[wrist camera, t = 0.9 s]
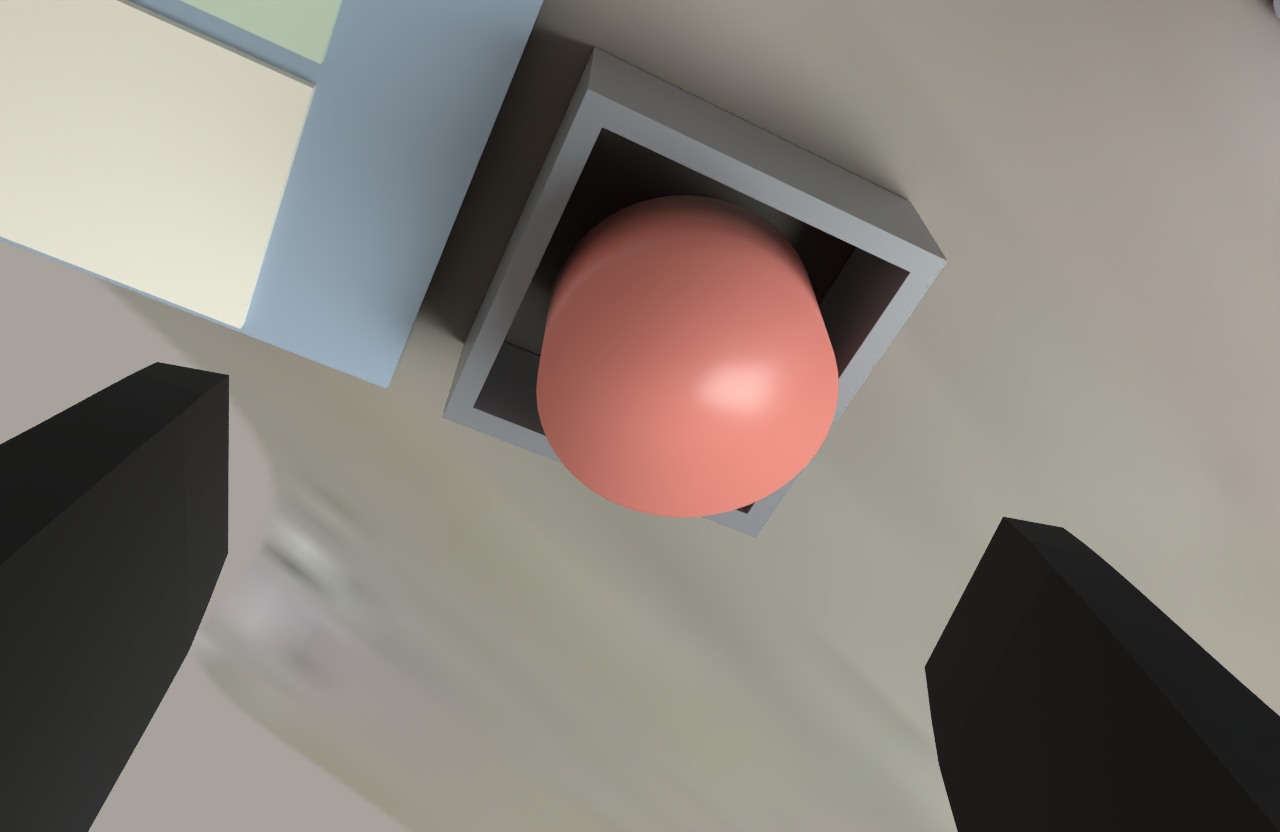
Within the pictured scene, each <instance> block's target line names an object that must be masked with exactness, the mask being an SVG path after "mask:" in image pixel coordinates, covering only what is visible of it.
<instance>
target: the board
mask: <svg viewBox="0 0 1280 832" xmlns="http://www.w3.org/2000/svg"><path fill="white" fill-rule="evenodd" d="M543 1H544V0H0V240H2V241H4V242H7V243H9V244H12V245H15V246H17V247H20V248H22V249H25V250H28V251H30V252H33V253H35V254H38V255H41V256H43V257H46V258H49V259H51V260H54V261H56V262H59V263H61V264H64V265H67V266H69V267H72V268H74V269H77V270H79V271H82V272H85V273H87V274H90V275H92V276H95V277H98V278H100V279H103V280H105V281H108V282H111V283H113V284H116V285H118V286H121V287H124V288H126V289H129V290H131V291H134V292H137V293H139V294H142V295H144V296H147V297H150V298H152V299H155V300H157V301H160V302H163V303H165V304H168V305H170V306H173V307H176V308H178V309H181V310H183V311H186V312H189V313H191V314H194V315H196V316H199V317H202V318H204V319H207V320H209V321H212V322H215V323H217V324H220V325H222V326H225V327H228V328H230V329H233V330H235V331H238V332H240V333H243V334H246V335H248V336H251V337H253V338H256V339H259V340H261V341H264V342H266V343H269V344H272V345H274V346H277V347H279V348H282V349H285V350H287V351H290V352H292V353H295V354H298V355H300V356H303V357H305V358H308V359H311V360H313V361H316V362H318V363H321V364H324V365H326V366H329V367H331V368H334V369H337V370H339V371H342V372H344V373H347V374H350V375H352V376H355V377H357V378H360V379H363V380H365V381H368V382H370V383H373V384H376V385H378V386H381V387H383V388H386V389H387V388H388V386H389V383H390V381H391V378H392V376H393V373H394V371H395V368H396V366H397V363H398V361H399V358H400V356H401V353H402V351H403V348H404V346H405V344H406V341H407V339H408V336H409V334H410V331H411V329H412V326H413V324H414V321H415V319H416V316H417V314H418V311H419V309H420V306H421V304H422V301H423V299H424V296H425V294H426V291H427V289H428V286H429V284H430V281H431V279H432V276H433V274H434V272H435V269H436V267H437V264H438V262H439V259H440V257H441V254H442V252H443V249H444V247H445V244H446V242H447V239H448V237H449V234H450V232H451V229H452V227H453V224H454V222H455V219H456V217H457V214H458V212H459V209H460V207H461V205H462V202H463V200H464V197H465V195H466V192H467V190H468V187H469V185H470V182H471V180H472V177H473V175H474V172H475V170H476V167H477V165H478V162H479V160H480V157H481V155H482V152H483V150H484V147H485V145H486V142H487V140H488V138H489V135H490V133H491V130H492V128H493V125H494V123H495V120H496V118H497V115H498V113H499V110H500V108H501V105H502V103H503V100H504V98H505V95H506V93H507V90H508V88H509V85H510V83H511V80H512V78H513V75H514V73H515V70H516V68H517V66H518V63H519V61H520V58H521V56H522V53H523V51H524V48H525V46H526V43H527V41H528V38H529V36H530V33H531V31H532V28H533V26H534V23H535V21H536V18H537V16H538V13H539V11H540V8H541V6H542V3H543Z"/></svg>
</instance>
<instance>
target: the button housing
mask: <svg viewBox="0 0 1280 832" xmlns="http://www.w3.org/2000/svg"><path fill="white" fill-rule="evenodd" d="M602 127H603V128H605V129H608V130H610V131H612V132H614V133H616V134H618V135H620V136H622V137H624V138H627V139H629V140H631V141H633V142H635V143H637V144H639V145H641V146H644V147H646V148H648V149H650V150H652V151H654V152H656V153H658V154H661V155H663V156H665V157H667V158H669V159H671V160H673V161H675V162H678V163H680V164H682V165H684V166H686V167H688V168H690V169H692V170H695V171H697V172H699V173H701V174H703V175H705V176H707V177H709V178H711V179H714V180H716V181H718V182H720V183H722V184H724V185H726V186H728V187H731V188H733V189H735V190H737V191H739V192H741V193H743V194H745V195H748V196H750V197H752V198H754V199H756V200H758V201H760V202H762V203H765V204H767V205H769V206H771V207H773V208H775V209H777V210H779V211H781V212H784V213H786V214H788V215H790V216H792V217H794V218H796V219H798V220H801V221H803V222H805V223H807V224H809V225H811V226H813V227H815V228H818V229H820V230H822V231H824V232H826V233H828V234H830V235H832V236H835V237H837V238H839V239H841V240H843V241H845V242H847V243H849V244H852V245H854V246H856V248H855V250H854V251H853V253H852V255H851V256H850V258H849V259H848V261H847V262H846V264H845V266H844V267H843V269H842V270H841V272H840V273H839V275H838V277H837V278H836V280H835V281H834V283H833V284H832V286H831V288H830V289H829V291H828V292H827V294H826V295H825V297H824V299H823V300H822V302H821V303H820V305H819V309H820V312H821V315H822V318H823V321H824V324H825V327H826V330H827V333H828V336H829V339H830V342H831V345H832V348H833V351H834V354H835V359H836V364H837V369H838V383H839V390H838V400H837V407H836V410H835V414H834V418H833V422H832V424H831V426H830V429H829V431H830V430H831V428H832V427H833V425H834V424H835V423H836V421H837V420H838V418H839V417H840V415H841V414H842V412H843V411H844V410H845V408H846V407H847V405H848V404H849V402H850V401H851V399H852V398H853V397H854V395H855V394H856V392H857V391H858V389H859V388H860V386H861V385H862V384H863V382H864V381H865V379H866V378H867V376H868V375H869V373H870V372H871V371H872V369H873V368H874V366H875V365H876V363H877V362H878V360H879V359H880V358H881V356H882V355H883V353H884V352H885V350H886V349H887V347H888V346H889V345H890V343H891V342H892V340H893V339H894V337H895V336H896V334H897V333H898V332H899V330H900V329H901V327H902V326H903V324H904V323H905V321H906V320H907V319H908V317H909V316H910V314H911V313H912V311H913V310H914V308H915V307H916V305H917V304H918V303H919V301H920V300H921V298H922V297H923V295H924V294H925V292H926V291H927V290H928V288H929V287H930V285H931V284H932V282H933V281H934V279H935V278H936V277H937V275H938V274H939V272H940V271H941V269H942V268H943V266H944V265H945V264H946V262H947V260H946V258H945V256H944V255H943V253H942V252H941V250H940V248H939V247H938V245H937V244H936V242H935V240H934V239H933V237H932V236H931V234H930V232H929V231H928V229H927V228H926V226H925V224H924V223H923V221H922V219H921V218H920V216H919V215H918V213H917V211H916V210H915V208H914V207H913V205H912V203H911V202H910V201H908V200H906V199H904V198H902V197H900V196H898V195H896V194H894V193H891V192H889V191H887V190H885V189H883V188H881V187H879V186H877V185H875V184H873V183H871V182H869V181H867V180H865V179H863V178H861V177H859V176H857V175H855V174H853V173H851V172H849V171H847V170H845V169H843V168H841V167H838V166H836V165H834V164H832V163H830V162H828V161H826V160H824V159H822V158H820V157H818V156H816V155H814V154H812V153H810V152H808V151H806V150H804V149H802V148H800V147H798V146H796V145H794V144H792V143H790V142H787V141H785V140H783V139H781V138H779V137H777V136H775V135H773V134H771V133H769V132H767V131H765V130H763V129H761V128H759V127H757V126H755V125H753V124H751V123H749V122H747V121H745V120H743V119H741V118H739V117H737V116H734V115H732V114H730V113H728V112H726V111H724V110H722V109H720V108H718V107H716V106H714V105H712V104H710V103H708V102H706V101H704V100H702V99H700V98H698V97H696V96H694V95H692V94H690V93H688V92H686V91H683V90H681V89H679V88H677V87H675V86H673V85H671V84H669V83H667V82H665V81H663V80H661V79H659V78H657V77H655V76H653V75H651V74H649V73H647V72H645V71H643V70H641V69H639V68H637V67H635V66H633V65H630V64H628V63H626V62H624V61H622V60H620V59H618V58H616V57H614V56H612V55H610V54H608V53H606V52H604V51H602V50H600V49H598V48H596V47H594V49H593V51H592V54H591V56H590V58H589V61H588V63H587V65H586V67H585V70H584V72H583V74H582V77H581V79H580V81H579V83H578V86H577V88H576V90H575V92H574V95H573V97H572V99H571V102H570V104H569V106H568V108H567V111H566V113H565V115H564V118H563V120H562V122H561V124H560V127H559V129H558V131H557V134H556V136H555V138H554V140H553V143H552V145H551V147H550V150H549V152H548V154H547V156H546V159H545V161H544V163H543V166H542V168H541V170H540V172H539V175H538V177H537V179H536V182H535V184H534V186H533V188H532V191H531V193H530V195H529V197H528V200H527V202H526V204H525V207H524V209H523V211H522V213H521V216H520V218H519V220H518V223H517V225H516V227H515V229H514V232H513V234H512V236H511V239H510V241H509V243H508V245H507V248H506V250H505V252H504V255H503V257H502V259H501V261H500V264H499V266H498V268H497V271H496V273H495V275H494V277H493V280H492V282H491V284H490V287H489V289H488V291H487V293H486V296H485V298H484V300H483V302H482V305H481V307H480V309H479V312H478V314H477V316H476V318H475V321H474V323H473V325H472V328H471V330H470V332H469V334H468V337H467V339H466V341H465V344H464V346H463V349H462V353H461V356H460V359H459V363H458V366H457V369H456V373H455V376H454V379H453V383H452V386H451V389H450V392H449V396H448V399H447V402H446V406H445V409H444V412H443V416H442V417H443V418H446V419H448V420H451V421H453V422H456V423H459V424H461V425H464V426H466V427H469V428H472V429H474V430H477V431H479V432H482V433H485V434H487V435H490V436H492V437H495V438H498V439H500V440H503V441H506V442H508V443H511V444H513V445H516V446H519V447H521V448H524V449H526V450H529V451H532V452H534V453H537V454H539V455H542V456H545V457H547V458H550V459H552V460H555V461H558V462H560V463H562V462H561V460H560V459H559V458H558V457H557V455H556V454H555V452H554V450H553V449H552V447H551V445H550V443H549V442H548V440H547V437H546V435H545V432H544V430H543V427H542V425H541V421H540V416H539V412H538V407H537V394H536V389H537V376H538V369H539V363H540V356H537V355H535V354H533V353H530V352H528V351H525V350H523V349H520V348H518V347H515V346H513V345H510V344H508V343H506V342H503V341H504V339H505V337H506V335H507V333H508V330H509V328H510V326H511V324H512V322H513V320H514V317H515V315H516V313H517V311H518V309H519V307H520V304H521V302H522V300H523V298H524V296H525V294H526V291H527V289H528V287H529V285H530V283H531V281H532V278H533V276H534V274H535V272H536V270H537V268H538V265H539V263H540V261H541V259H542V257H543V255H544V252H545V250H546V248H547V246H548V244H549V241H550V239H551V237H552V235H553V233H554V231H555V228H556V226H557V224H558V222H559V220H560V218H561V215H562V213H563V211H564V209H565V207H566V205H567V202H568V200H569V198H570V196H571V194H572V192H573V189H574V187H575V185H576V183H577V181H578V179H579V176H580V174H581V172H582V170H583V168H584V166H585V163H586V161H587V159H588V157H589V155H590V153H591V150H592V148H593V146H594V144H595V142H596V139H597V137H598V135H599V133H600V131H601V129H602ZM829 431H828V433H829ZM828 433H827V434H828ZM803 469H804V468H803ZM803 469H802V470H803ZM802 470H801V471H800V472H799V473H798V474H797V475H796V476H795V477H794V478H793V479H791V480H790V481H789V482H788V483H786V484H785V485H784V486H782V487H781V488H780V489H778V490H776V491H775V492H773V493H771V494H770V495H768V496H766V497H765V498H763V499H760V500H758V501H756V502H754V503H752V504H749V505H747V506H744V507H741V508H738V509H735V510H732V511H728V512H724V513H719V514H715V515H708V516H701V517H704V518H706V519H709V520H712V521H714V522H717V523H719V524H722V525H725V526H727V527H730V528H732V529H735V530H738V531H740V532H743V533H745V534H748V535H751V536H753V537H757V535H758V534H759V532H760V531H761V530H762V528H763V527H764V525H765V524H766V522H767V521H768V519H769V518H770V517H771V515H772V514H773V512H774V511H775V509H776V508H777V506H778V505H779V504H780V502H781V501H782V499H783V498H784V496H785V495H786V493H787V492H788V491H789V489H790V488H791V486H792V485H793V483H794V482H795V480H796V479H797V478H798V476H799V475H800V473H801V472H802Z"/></svg>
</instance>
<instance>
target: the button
mask: <svg viewBox="0 0 1280 832" xmlns="http://www.w3.org/2000/svg"><path fill="white" fill-rule="evenodd" d="M838 390H839V383H838V369H837V364H836V359H835V354H834V351H833V348H832V345H831V342H830V339H829V336H828V333H827V330H826V327H825V324H824V321H823V318H822V315H821V312H820V309H819V306H818V303H817V300H816V297H815V294H814V291H813V288H812V285H811V282H810V279H809V277H808V274H807V271H806V268H805V266H804V264H803V263H802V261H801V259H800V257H799V255H798V253H797V252H796V251H795V249H794V248H793V247H792V245H791V244H790V243H789V241H788V240H787V239H786V238H785V237H784V236H783V235H782V234H781V233H780V232H779V231H778V230H777V229H776V228H775V227H774V226H772V225H771V224H770V223H768V222H767V221H766V220H764V219H763V218H762V217H760V216H758V215H756V214H754V213H753V212H751V211H749V210H747V209H745V208H743V207H740V206H738V205H735V204H733V203H730V202H727V201H723V200H719V199H715V198H710V197H702V196H693V195H684V196H667V197H660V198H654V199H650V200H646V201H643V202H639V203H636V204H633V205H631V206H629V207H626V208H624V209H621V210H619V211H617V212H616V213H614V214H612V215H610V216H609V217H607V218H605V219H604V220H602V221H601V222H600V223H598V224H597V225H596V226H594V227H593V228H592V229H590V230H589V231H588V232H587V233H586V234H585V235H584V236H583V237H582V238H581V239H580V240H579V241H578V242H577V244H576V245H575V246H574V248H573V249H572V250H571V251H570V253H569V254H568V255H567V257H566V259H565V261H564V262H563V264H562V266H561V268H560V270H559V272H558V275H557V277H556V280H555V282H554V285H553V289H552V293H551V298H550V303H549V309H548V315H547V321H546V327H545V333H544V339H543V345H542V351H541V357H540V363H539V369H538V376H537V389H536V394H537V407H538V412H539V416H540V421H541V425H542V427H543V430H544V432H545V435H546V437H547V440H548V442H549V443H550V445H551V447H552V449H553V450H554V452H555V454H556V455H557V457H558V458H559V459H560V460H561V462H562V463H563V464H564V466H565V467H566V468H567V469H568V470H569V471H570V472H571V473H572V474H573V475H574V476H575V477H576V478H577V479H578V480H579V481H581V482H582V483H583V484H584V485H586V486H587V487H588V488H590V489H591V490H592V491H594V492H596V493H597V494H599V495H601V496H602V497H604V498H606V499H608V500H610V501H612V502H614V503H617V504H619V505H621V506H623V507H627V508H630V509H633V510H636V511H639V512H644V513H648V514H653V515H659V516H669V517H699V516H708V515H715V514H719V513H724V512H728V511H732V510H735V509H738V508H741V507H744V506H747V505H749V504H752V503H754V502H756V501H758V500H760V499H763V498H765V497H766V496H768V495H770V494H771V493H773V492H775V491H776V490H778V489H780V488H781V487H782V486H784V485H785V484H786V483H788V482H789V481H790V480H791V479H793V478H794V477H795V476H796V475H797V474H798V473H799V472H800V471H801V470H802V469H803V468H804V467H805V466H806V465H807V464H808V463H809V461H810V460H811V459H812V458H813V456H814V455H815V454H816V453H817V451H818V450H819V448H820V446H821V445H822V443H823V441H824V440H825V438H826V436H827V433H828V431H829V429H830V426H831V424H832V422H833V418H834V414H835V410H836V407H837V400H838Z"/></svg>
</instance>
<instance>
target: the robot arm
mask: <svg viewBox="0 0 1280 832" xmlns="http://www.w3.org/2000/svg"><path fill="white" fill-rule="evenodd" d="M1273 5H1274V9H1275V13H1276V16H1277V17H1278V18H1279V19H1280V0H1274V2H1273ZM228 422H229V375H225V374H220V373H214V372H209V371H203V370H198V369H192V368H187V367H181V366H176V365H170V364H165V363H159V362H156V363H154V364H152V365H150V366H148V367H146V368H144V369H142V370H139V371H137V372H135V373H134V374H132V375H130V376H128V377H126V378H124V379H122V380H120V381H119V382H116V383H114V384H112V385H111V386H109V387H107V388H105V389H103V390H101V391H99V392H98V393H96V394H94V395H92V396H91V397H88V398H86V399H85V400H83V401H81V402H79V403H78V404H75V405H74V406H72V407H70V408H68V409H66V410H65V411H63V412H61V413H59V414H57V415H55V416H53V417H51V418H50V419H48V420H46V421H44V422H42V423H40V424H38V425H37V426H35V427H33V428H31V429H29V430H27V431H25V432H23V433H21V434H19V435H18V436H16V437H14V438H12V439H10V440H8V441H6V442H4V443H2V444H0V832H88V831H89V829H90V827H91V825H92V823H93V822H94V820H95V818H96V816H97V815H98V813H99V811H100V809H101V807H102V806H103V804H104V802H105V800H106V799H107V797H108V795H109V793H110V792H111V790H112V788H113V786H114V784H115V783H116V781H117V779H118V777H119V776H120V774H121V772H122V770H123V769H124V767H125V765H126V763H127V761H128V760H129V758H130V756H131V754H132V753H133V751H134V749H135V747H136V745H137V744H138V742H139V740H140V738H141V737H142V735H143V733H144V731H145V730H146V728H147V726H148V724H149V722H150V720H151V719H152V717H153V715H154V713H155V711H156V710H157V708H158V706H159V704H160V702H161V701H162V699H163V697H164V695H165V693H166V692H167V690H168V688H169V686H170V684H171V683H172V681H173V679H174V677H175V675H176V673H177V672H178V670H179V668H180V666H181V664H182V663H183V661H184V659H185V657H186V655H187V653H188V651H189V649H190V647H191V645H192V642H193V640H194V637H195V635H196V632H197V630H198V628H199V625H200V623H201V620H202V618H203V616H204V613H205V611H206V608H207V606H208V603H209V601H210V598H211V595H212V593H213V590H214V588H215V585H216V582H217V580H218V577H219V575H220V572H221V570H222V567H223V564H224V562H225V559H226V557H227V554H228V446H229V445H228V444H229V432H228V431H229V423H228ZM925 672H926V680H927V688H928V695H929V703H930V711H931V719H932V725H933V731H934V737H935V743H936V749H937V755H938V761H939V766H940V770H941V774H942V777H943V781H944V785H945V788H946V792H947V795H948V799H949V802H950V806H951V809H952V813H953V816H954V820H955V823H956V827H957V830H958V832H1280V716H1279V715H1278V714H1276V713H1275V712H1274V711H1273V710H1272V709H1271V708H1269V707H1268V706H1267V705H1266V704H1265V703H1264V702H1263V701H1262V700H1260V699H1259V698H1258V697H1257V696H1256V695H1255V694H1254V693H1252V692H1251V691H1250V690H1249V689H1248V688H1247V687H1246V686H1244V685H1243V684H1242V683H1241V682H1240V681H1239V680H1238V679H1237V678H1236V677H1234V676H1233V675H1232V674H1231V673H1230V672H1229V671H1228V670H1227V669H1225V668H1224V667H1223V666H1222V665H1221V664H1220V663H1219V662H1218V661H1216V660H1215V659H1214V658H1213V657H1212V656H1211V655H1210V654H1209V653H1208V652H1206V651H1205V650H1204V649H1203V648H1202V647H1201V646H1200V645H1199V644H1198V643H1197V642H1195V641H1194V640H1193V639H1192V638H1191V637H1190V636H1189V635H1188V634H1187V633H1185V632H1184V631H1183V630H1182V629H1181V628H1180V627H1179V626H1178V625H1177V624H1175V623H1174V622H1173V621H1172V620H1171V619H1170V618H1169V617H1168V616H1167V615H1166V614H1164V613H1163V612H1162V611H1161V610H1160V609H1159V608H1158V607H1157V606H1156V605H1154V604H1153V603H1152V602H1151V601H1150V600H1149V599H1148V598H1147V597H1146V596H1144V595H1143V594H1142V593H1141V592H1140V591H1139V590H1138V589H1137V588H1136V587H1134V586H1133V585H1132V584H1131V583H1130V582H1129V581H1128V580H1126V579H1125V578H1124V577H1123V576H1122V575H1121V574H1120V573H1118V572H1117V571H1116V570H1115V569H1114V568H1113V567H1112V566H1110V565H1109V564H1108V563H1107V562H1106V561H1105V560H1103V559H1102V558H1101V557H1100V556H1099V555H1097V554H1096V553H1095V552H1094V551H1093V550H1091V549H1090V548H1089V547H1088V546H1086V545H1085V544H1084V543H1083V542H1081V541H1080V540H1079V539H1077V538H1076V537H1075V536H1073V535H1072V534H1071V533H1069V532H1068V531H1067V530H1065V529H1064V528H1062V527H1056V526H1051V525H1045V524H1040V523H1034V522H1029V521H1023V520H1018V519H1012V518H1007V517H1003V518H1002V520H1001V522H1000V524H999V526H998V528H997V530H996V532H995V534H994V535H993V537H992V539H991V541H990V543H989V545H988V547H987V549H986V551H985V553H984V555H983V556H982V558H981V560H980V562H979V564H978V566H977V568H976V570H975V572H974V574H973V576H972V578H971V579H970V581H969V583H968V585H967V587H966V589H965V591H964V593H963V595H962V597H961V599H960V601H959V602H958V604H957V606H956V608H955V610H954V612H953V614H952V616H951V618H950V620H949V622H948V624H947V625H946V627H945V629H944V631H943V633H942V635H941V637H940V639H939V641H938V643H937V645H936V647H935V648H934V650H933V652H932V654H931V656H930V658H929V660H928V662H927V664H926V666H925Z"/></svg>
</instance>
